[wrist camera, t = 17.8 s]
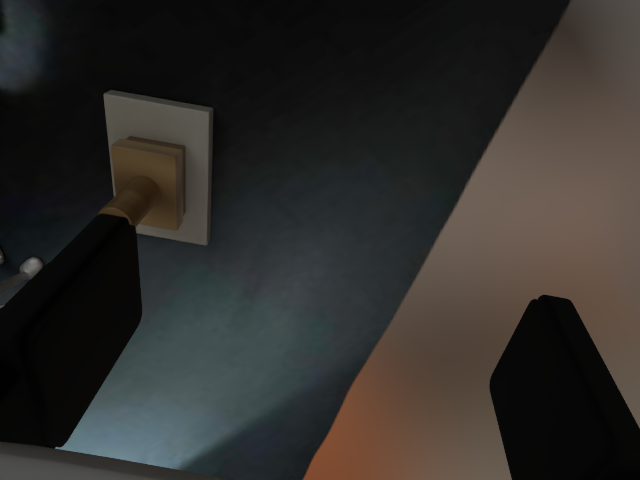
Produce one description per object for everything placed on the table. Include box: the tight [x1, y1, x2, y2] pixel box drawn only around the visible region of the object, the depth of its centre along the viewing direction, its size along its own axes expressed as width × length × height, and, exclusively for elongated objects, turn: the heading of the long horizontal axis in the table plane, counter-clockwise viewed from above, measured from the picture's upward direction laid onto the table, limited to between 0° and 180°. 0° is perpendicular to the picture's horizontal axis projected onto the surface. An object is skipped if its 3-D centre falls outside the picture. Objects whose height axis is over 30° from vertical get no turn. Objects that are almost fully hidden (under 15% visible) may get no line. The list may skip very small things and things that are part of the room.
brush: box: [98, 136, 186, 231], centre depth 35 cm, size 6×5×8 cm
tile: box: [104, 90, 213, 245], centre depth 39 cm, size 12×8×1 cm, turn 172°
